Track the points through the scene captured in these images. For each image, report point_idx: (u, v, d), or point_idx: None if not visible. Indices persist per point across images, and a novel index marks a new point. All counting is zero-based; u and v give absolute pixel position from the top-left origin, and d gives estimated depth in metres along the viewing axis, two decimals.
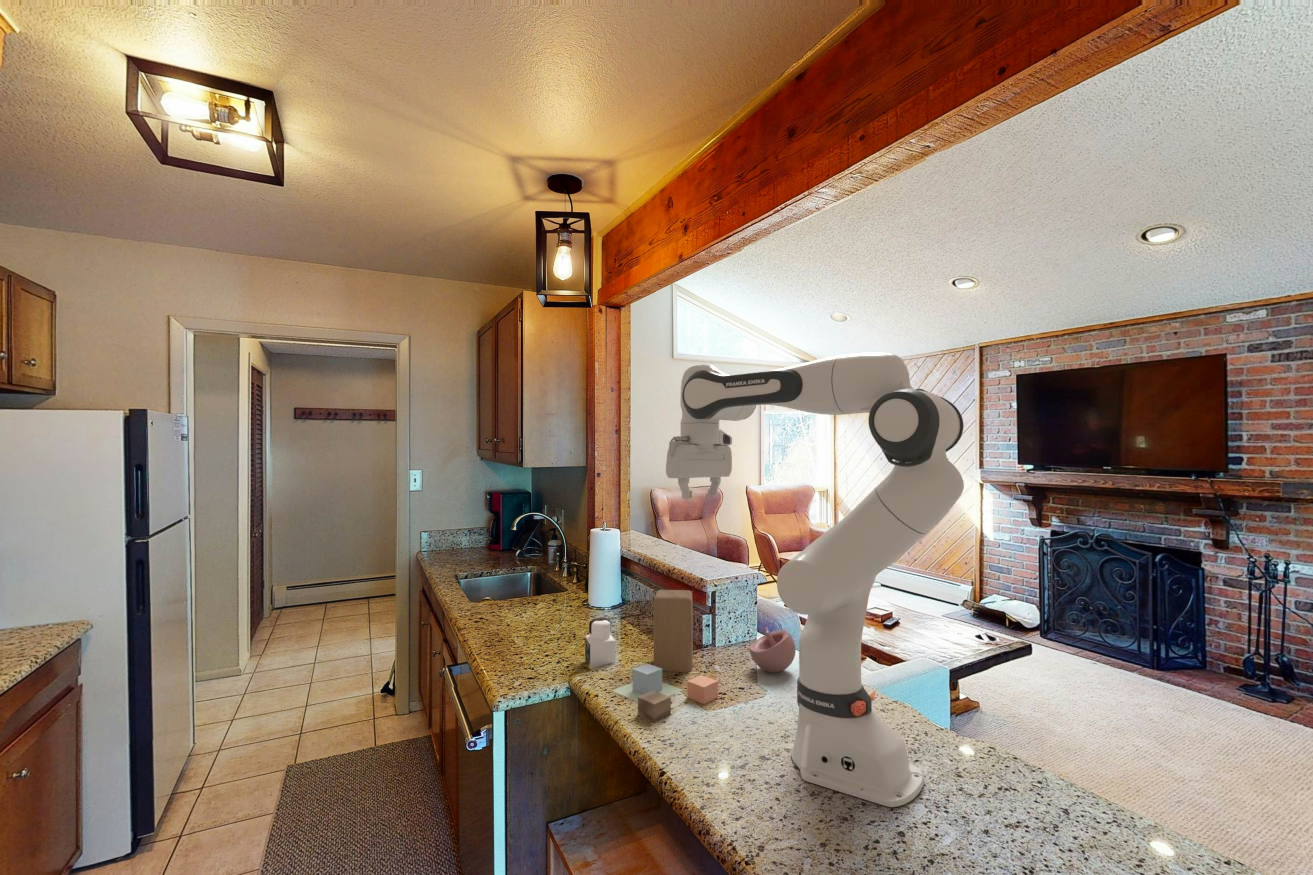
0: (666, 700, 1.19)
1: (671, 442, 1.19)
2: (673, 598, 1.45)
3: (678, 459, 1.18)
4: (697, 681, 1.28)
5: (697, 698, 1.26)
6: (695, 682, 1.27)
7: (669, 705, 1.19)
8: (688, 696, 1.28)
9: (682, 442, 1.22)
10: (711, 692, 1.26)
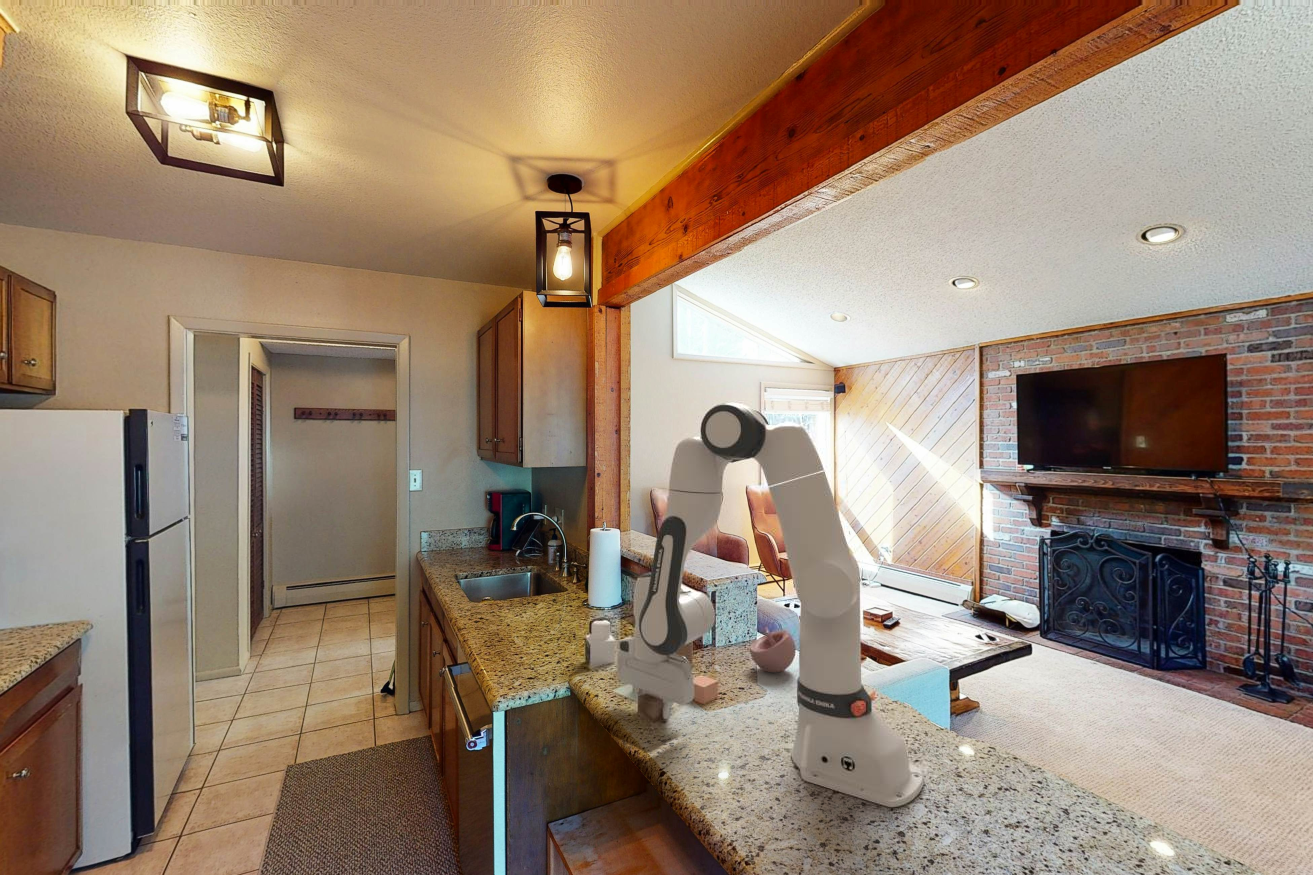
0: None
1: (690, 665, 1.13)
2: None
3: None
4: (697, 681, 1.28)
5: (697, 698, 1.26)
6: (695, 682, 1.27)
7: None
8: None
9: None
10: (711, 692, 1.26)
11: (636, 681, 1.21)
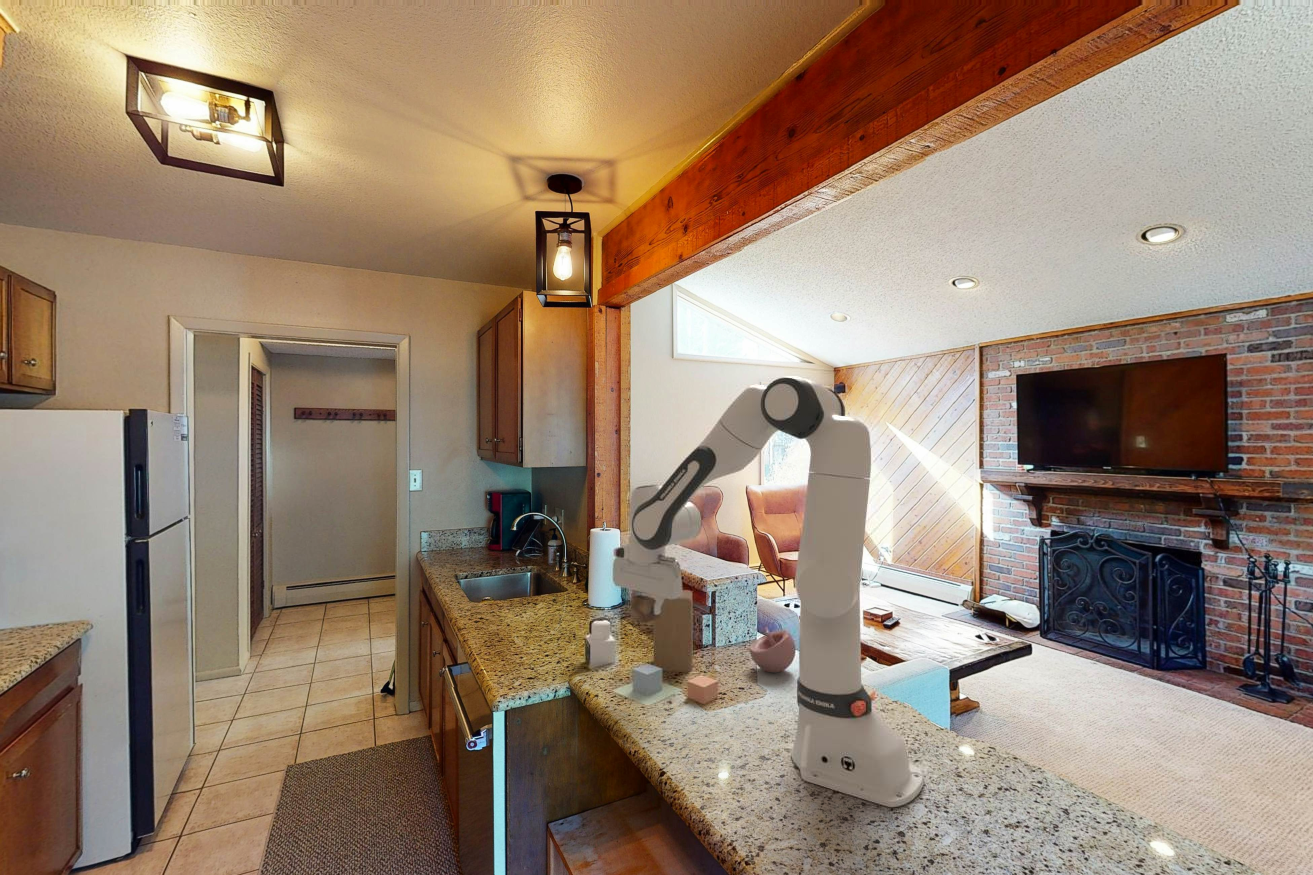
0: None
1: (679, 564, 1.26)
2: None
3: None
4: (697, 681, 1.28)
5: (697, 698, 1.26)
6: (695, 682, 1.27)
7: None
8: (688, 696, 1.28)
9: None
10: (711, 692, 1.26)
11: (630, 583, 1.34)
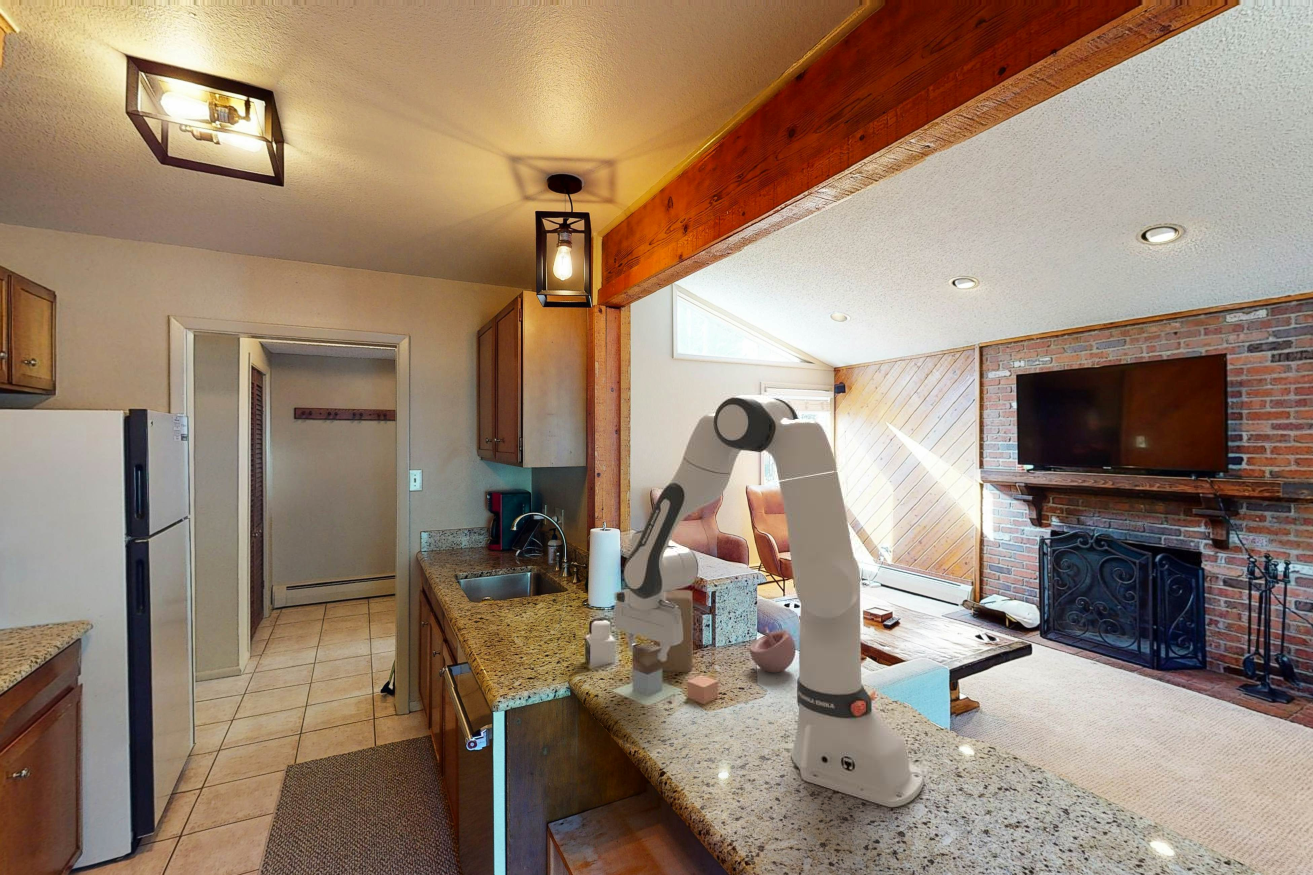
0: (658, 650, 1.31)
1: (679, 610, 1.26)
2: (673, 598, 1.45)
3: None
4: (697, 681, 1.28)
5: (697, 698, 1.26)
6: (695, 682, 1.27)
7: None
8: (688, 696, 1.28)
9: None
10: (711, 692, 1.26)
11: (631, 628, 1.34)
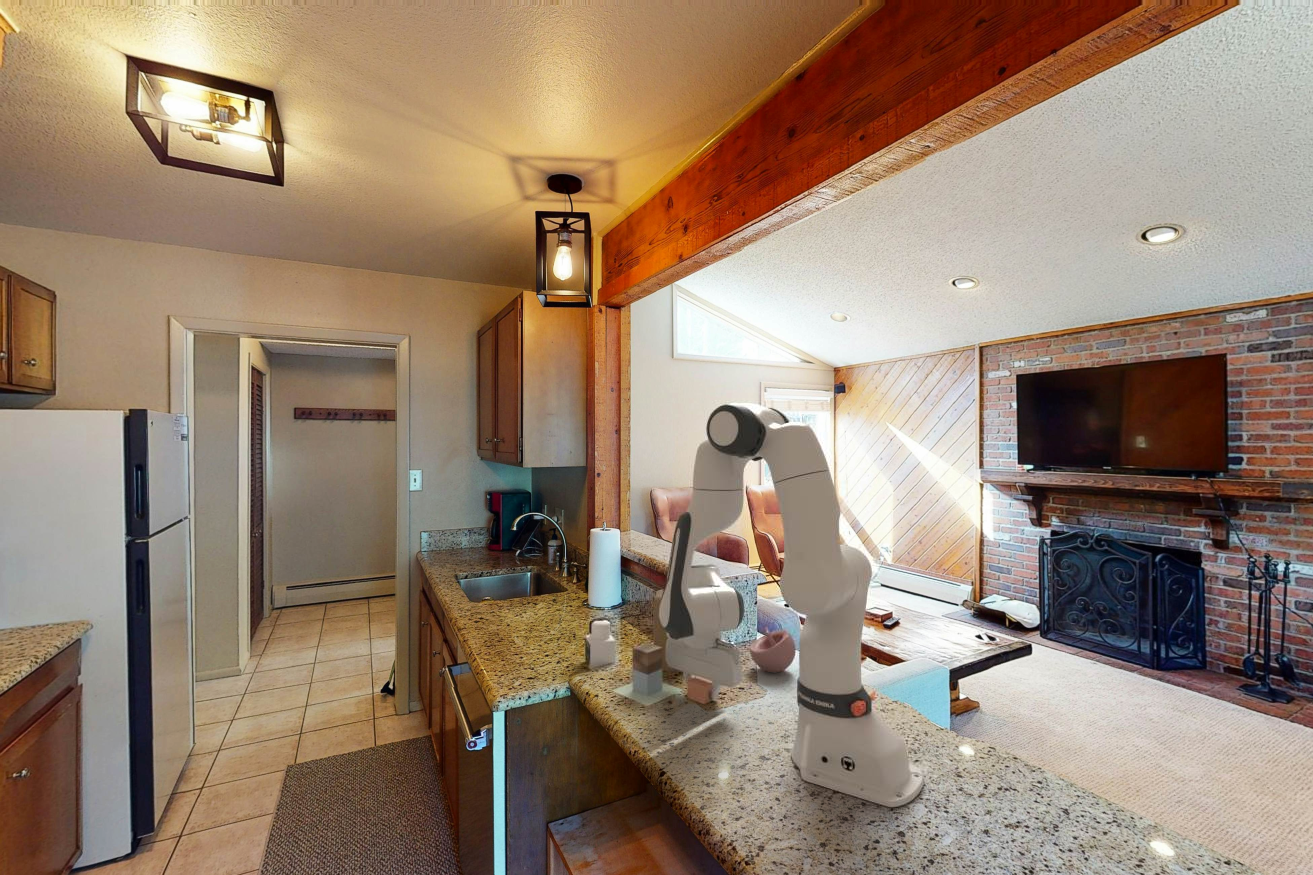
0: (658, 650, 1.31)
1: (739, 651, 1.22)
2: None
3: None
4: (697, 680, 1.28)
5: (697, 697, 1.26)
6: (695, 681, 1.27)
7: (661, 655, 1.32)
8: (688, 695, 1.28)
9: None
10: None
11: (685, 666, 1.29)
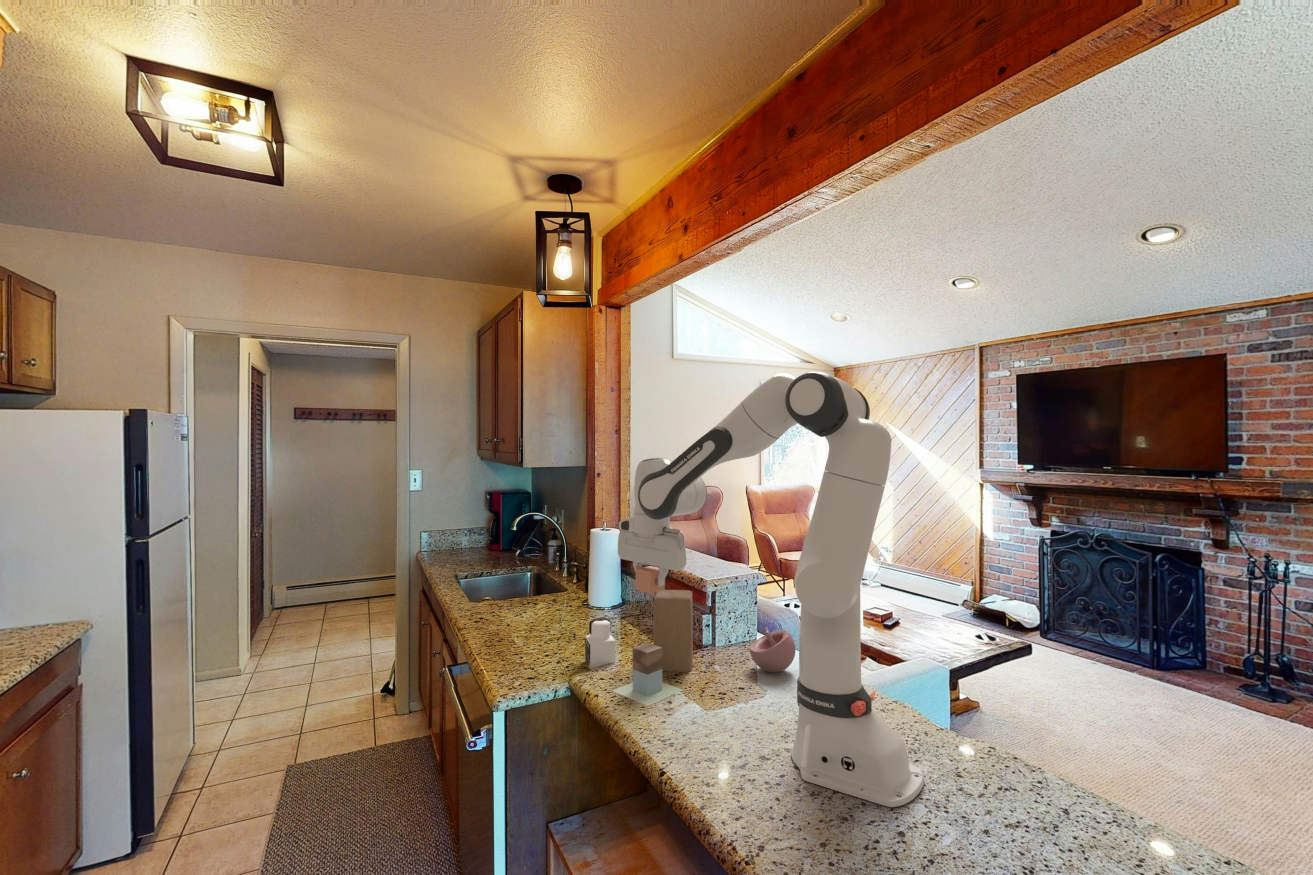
0: (658, 650, 1.31)
1: (683, 536, 1.27)
2: (673, 598, 1.45)
3: None
4: (645, 568, 1.33)
5: (644, 583, 1.31)
6: (643, 569, 1.33)
7: (661, 655, 1.32)
8: (636, 582, 1.33)
9: None
10: None
11: (635, 556, 1.35)
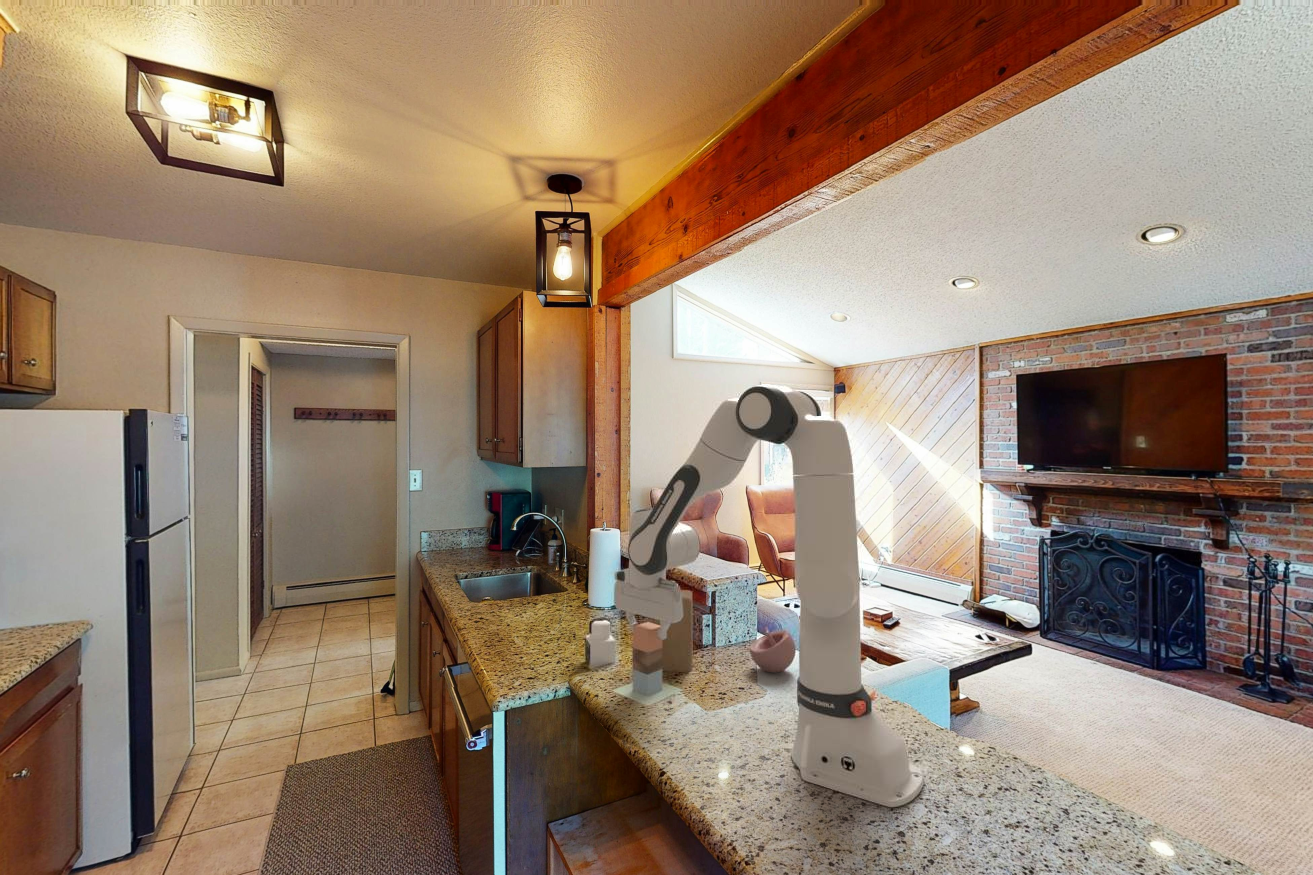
0: (658, 650, 1.31)
1: (679, 588, 1.26)
2: None
3: None
4: (642, 626, 1.32)
5: (641, 641, 1.30)
6: (640, 627, 1.32)
7: (661, 655, 1.32)
8: (633, 641, 1.32)
9: None
10: (655, 636, 1.31)
11: (631, 607, 1.34)
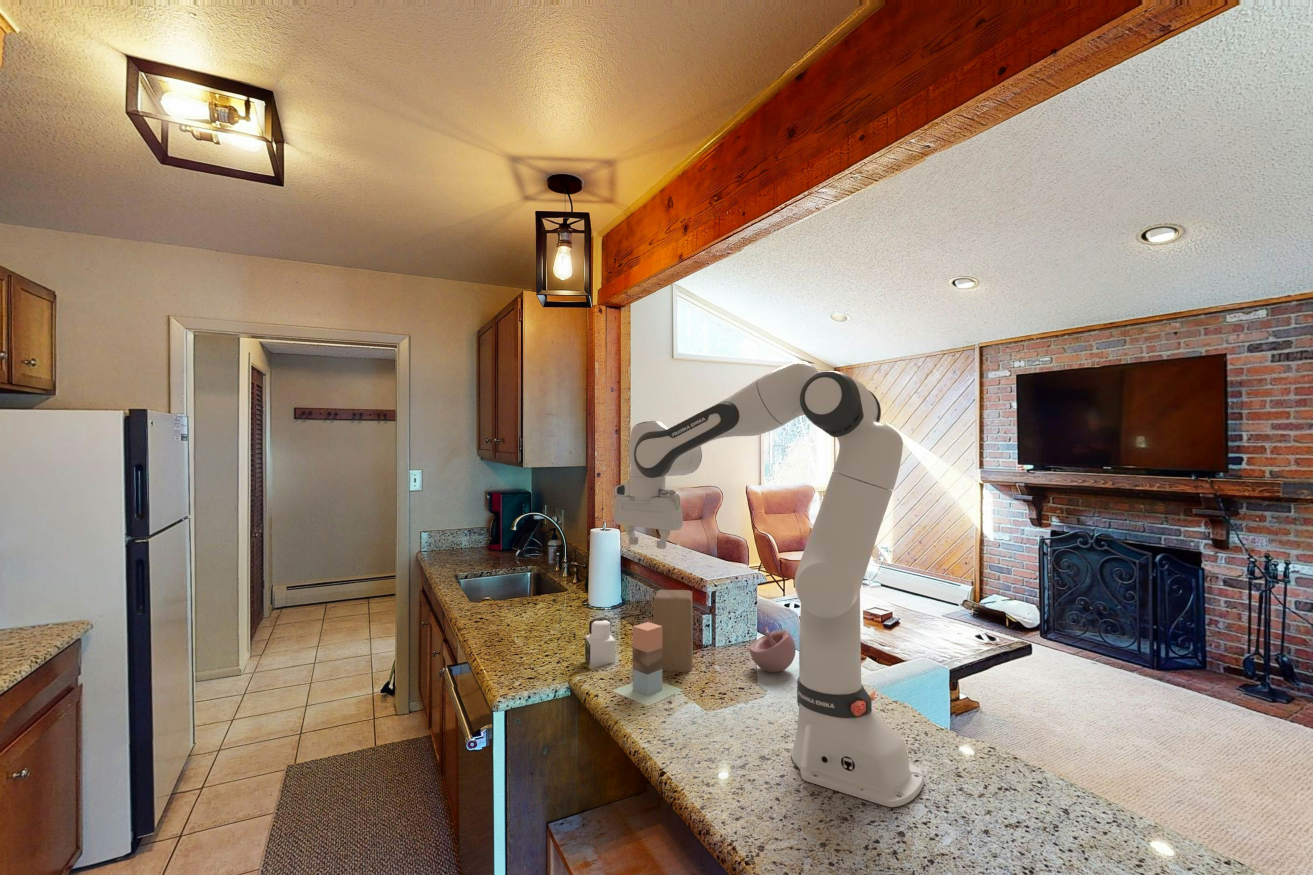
0: (658, 650, 1.31)
1: (679, 496, 1.27)
2: (673, 598, 1.45)
3: None
4: (642, 626, 1.32)
5: (641, 641, 1.30)
6: (640, 627, 1.32)
7: (661, 655, 1.32)
8: (633, 641, 1.32)
9: None
10: (655, 636, 1.31)
11: (631, 520, 1.35)
